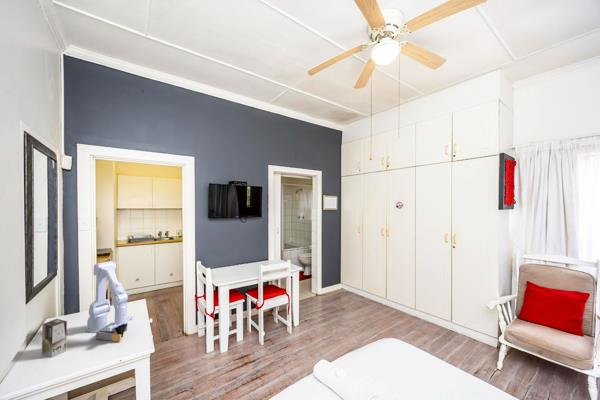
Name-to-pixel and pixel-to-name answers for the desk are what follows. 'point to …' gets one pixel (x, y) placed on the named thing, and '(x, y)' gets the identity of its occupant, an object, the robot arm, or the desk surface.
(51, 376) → the desk surface
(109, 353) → the desk surface
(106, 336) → the side door
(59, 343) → the coffee box
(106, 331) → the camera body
